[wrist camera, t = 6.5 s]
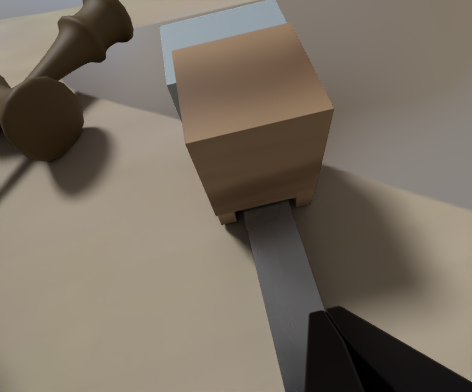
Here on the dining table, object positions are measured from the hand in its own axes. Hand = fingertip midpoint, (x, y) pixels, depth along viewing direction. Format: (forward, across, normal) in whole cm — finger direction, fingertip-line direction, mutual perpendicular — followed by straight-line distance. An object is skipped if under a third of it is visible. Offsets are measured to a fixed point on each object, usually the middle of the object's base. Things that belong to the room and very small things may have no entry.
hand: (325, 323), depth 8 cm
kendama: (+23, +15, -10) cm, 29 cm away
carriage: (+14, 0, -1) cm, 14 cm away
